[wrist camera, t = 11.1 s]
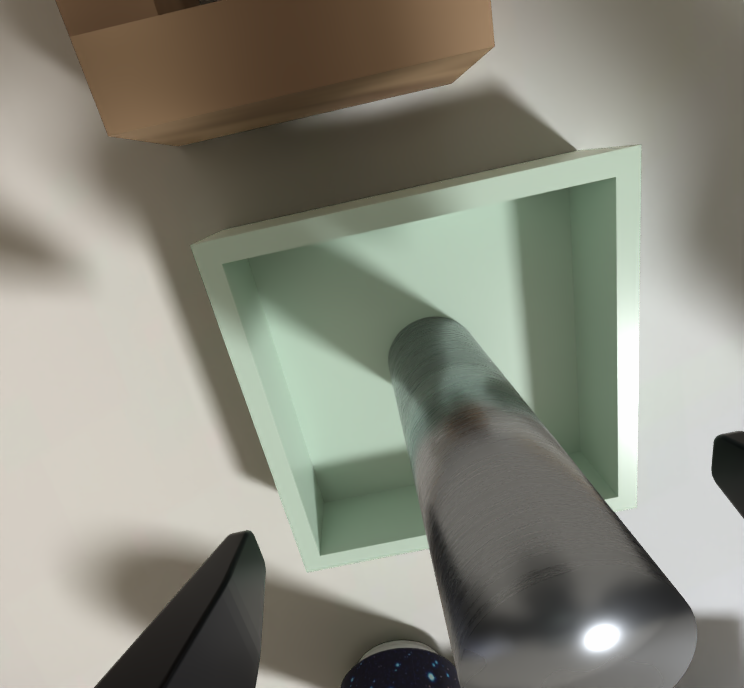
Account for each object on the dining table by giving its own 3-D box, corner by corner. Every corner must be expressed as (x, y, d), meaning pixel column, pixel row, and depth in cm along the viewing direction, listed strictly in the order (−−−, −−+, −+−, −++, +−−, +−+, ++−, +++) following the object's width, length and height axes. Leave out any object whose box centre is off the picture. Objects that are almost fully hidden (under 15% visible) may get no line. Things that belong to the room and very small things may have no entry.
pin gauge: (470, 307, 14) (703, 546, 5) (482, 389, 15) (691, 713, 6) (380, 327, 14) (441, 600, 5) (397, 407, 15) (475, 755, 6)
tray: (578, 150, 13) (641, 144, 10) (588, 451, 17) (636, 507, 14) (223, 229, 14) (189, 245, 11) (314, 507, 18) (307, 572, 15)
